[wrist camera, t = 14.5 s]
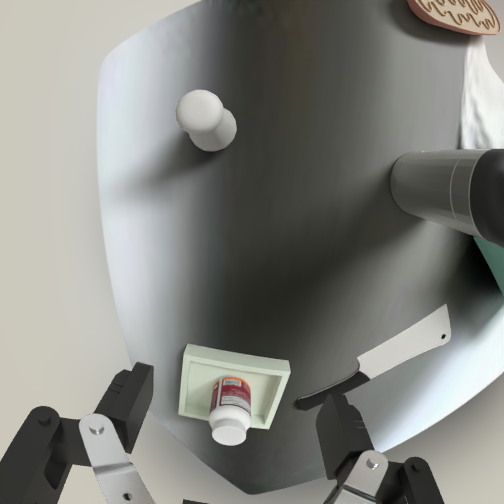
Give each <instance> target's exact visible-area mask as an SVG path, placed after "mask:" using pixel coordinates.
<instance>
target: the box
mask: <svg viewBox="0 0 504 504" xmlns="http://www.w3.org/2000/svg"><path fill="white" fill-rule="evenodd" d="M473 238H474V240H475V242H476V243H477V245H478V247H479V249H480V250H481V252H482V254H483V256H484V258H485V260H486V261H487V263H488V265H489V267H490V269H491V271H492V273H493V275H494V277H495V279H496V281H497V283H498V285H499V288H500V290H501V292H502V294H503V296H504V248H502V247H500V246H498V245H496V244H494V243H491V242H489V241H486V240H483V239H481V238H478V237H476V236H474V237H473Z"/></svg>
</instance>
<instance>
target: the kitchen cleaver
mask: <svg viewBox="0 0 504 504" xmlns="http://www.w3.org/2000/svg"><path fill="white" fill-rule="evenodd" d="M443 334H445V337H444V338H443V339H441V336H442V335H443ZM450 338H451V328H450V320H449V315H448V310H447V305H446V304H445V305H443V306H442V307H440V308H439V309H437V310H436V311H434V312H433V313H431V314H430V315H428V316H427V317H425V318H424V319H422V320H421V321H419V322H418V323H416V324H414V325H413V326H411V327H410V328H408V329H406V330H405V331H403V332H401V333H400V334H398V335H396V336H395V337H393V338H391V339H390V340H388V341H386V342H384V343H383V344H381V345H379V346H377V347H376V348H374V349H372V350H370V351H368V352H366V353H364V354H363V355H361V356H359V357H357V359H358V361H359V363H360V367H359V370H357V371H356V372H355V373H354V374H352V375H351V376H349V377H348V378H346V379H344V380H342V381H340V382H338V383H336V384H333V385H331V386H329V387H327V388H325V389H322V390H320V391H318V392H315V393H313V394H310V395H308V396H304V397H300V398H298V405H299V407H300V409H301V410H304V411H306V410H309V409H311V408H313V407H315V406H318V405H320V404H322V403H324V401H325V399H326V397H327V396H328V395H329V394H338V395H342V394H344V393H346V392H348V391H350V390H352V389H354V388H356V387H358V386H360V385H362V384H364V383H366V382H367V381H369V380H370V379H372V378H374V377H376V376H377V375H379V374H381V373H383V372H385V371H387V370H389V369H391V368H393V367H394V366H396V365H398V364H400V363H402V362H404V361H406V360H408V359H410V358H412V357H414V356H416V355H419V354H421V353H423V352H425V351H428V350H430V349H432V348H435V347H438V346H441V345H443V344H445V343H447V342H448V341H449V340H450Z"/></svg>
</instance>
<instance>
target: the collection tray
mask: <svg viewBox="0 0 504 504" xmlns="http://www.w3.org/2000/svg"><path fill="white" fill-rule="evenodd" d="M227 375H234V376H239V377H241V378H243V379H245V380H246V381H247V382H248V384H249V386H250V390H251V425H250V427H254V428H263V429H269V427H270V425H271V422H272V420H273V417H274V415H275V412H276V410H277V407H278V405H279V402H280V399H281V397H282V394H283V391H284V389H285V386H286V383H287V380H288V378H289V375H290V366H289V361H287V360H280V359H273V358H266V357H259V356H253V355H246V354H240V353H235V352H229V351H223V350H218V349H213V348H208V347H203V346H198V345H193V344H189V343H187V346H186V349H185V352H184V357H183V367H182V377H181V388H180V400H179V413H178V415H182V416H187V417H192V418H196V419H202V420H207V421H209V413H210V406H211V399H212V392H213V386H214V384H215V382H216V381H217V380H218V379H219V378H221V377H223V376H227Z"/></svg>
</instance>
